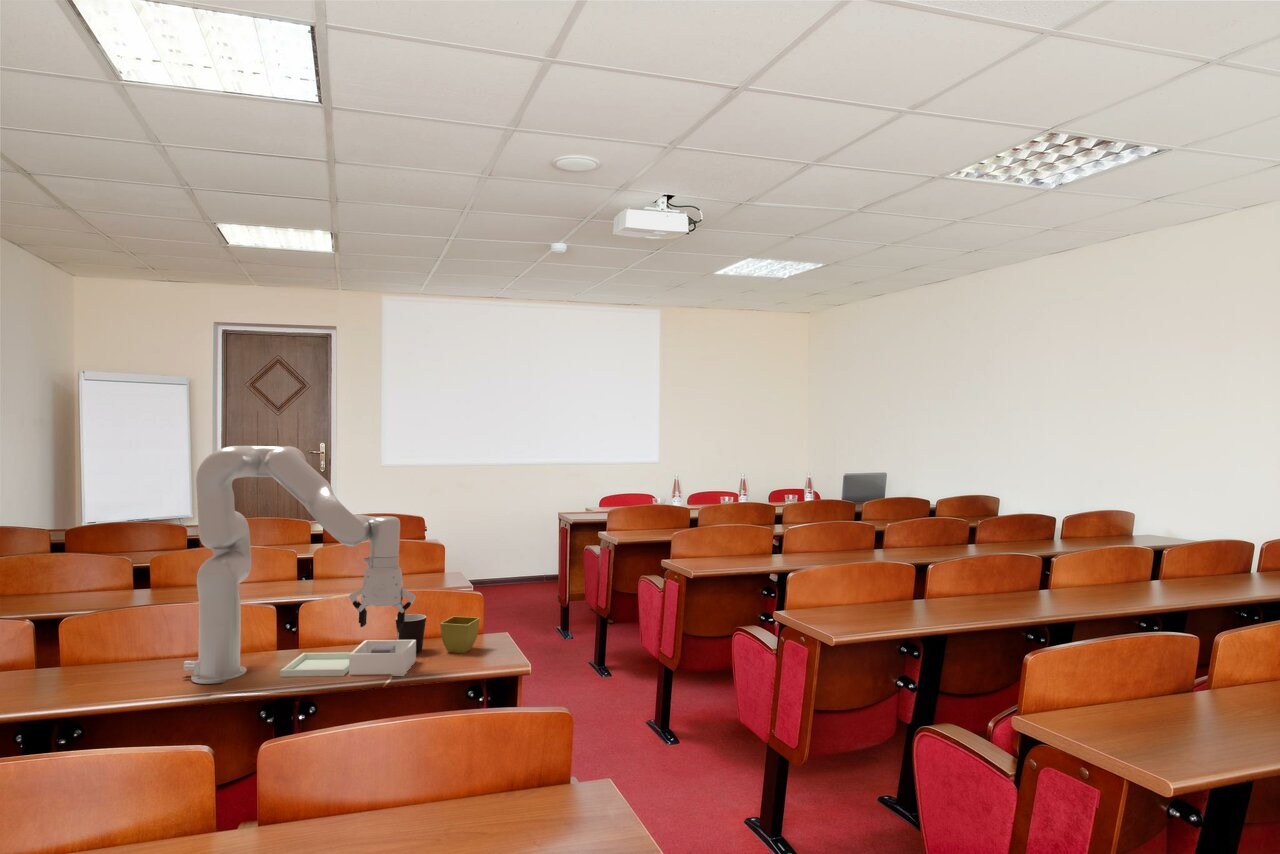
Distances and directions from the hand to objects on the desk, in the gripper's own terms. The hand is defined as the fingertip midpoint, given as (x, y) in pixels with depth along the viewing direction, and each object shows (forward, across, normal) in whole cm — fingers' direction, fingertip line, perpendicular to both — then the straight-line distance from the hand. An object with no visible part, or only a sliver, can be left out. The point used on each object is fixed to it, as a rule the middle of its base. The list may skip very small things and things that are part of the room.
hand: (381, 626), depth 207 cm
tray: (+12, -15, 0) cm, 19 cm away
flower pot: (+11, +18, +17) cm, 28 cm away
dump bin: (+12, +1, 0) cm, 12 cm away
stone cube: (+11, +1, 0) cm, 11 cm away
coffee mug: (+12, +4, +18) cm, 22 cm away
